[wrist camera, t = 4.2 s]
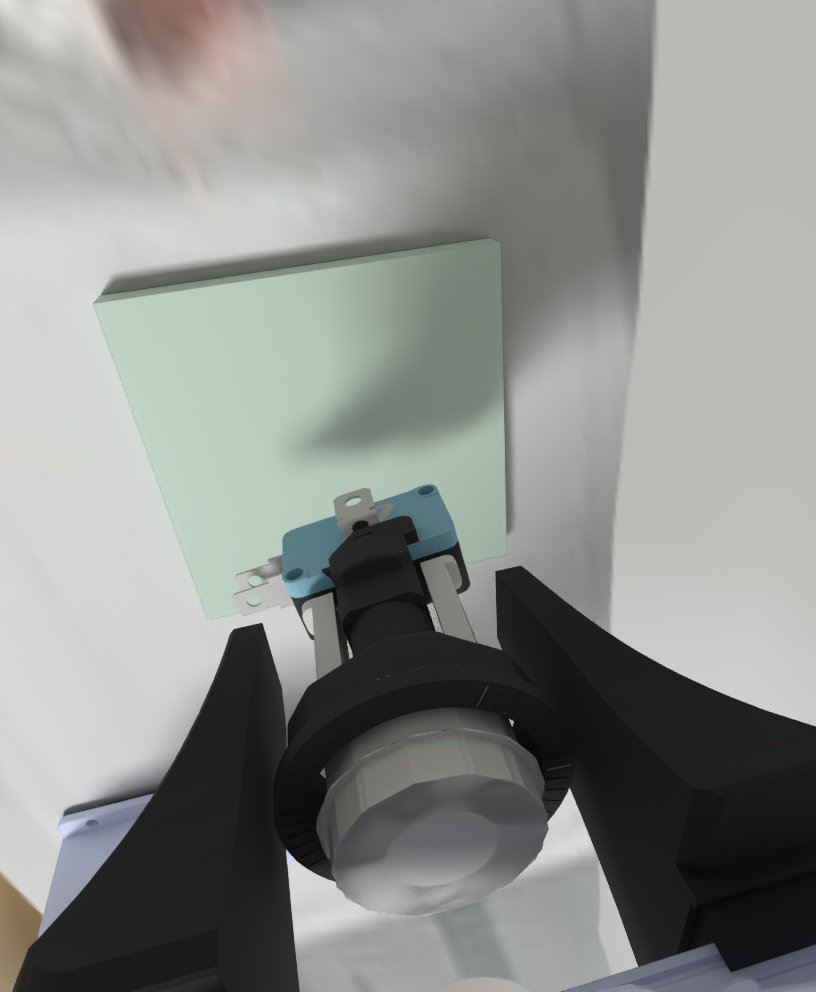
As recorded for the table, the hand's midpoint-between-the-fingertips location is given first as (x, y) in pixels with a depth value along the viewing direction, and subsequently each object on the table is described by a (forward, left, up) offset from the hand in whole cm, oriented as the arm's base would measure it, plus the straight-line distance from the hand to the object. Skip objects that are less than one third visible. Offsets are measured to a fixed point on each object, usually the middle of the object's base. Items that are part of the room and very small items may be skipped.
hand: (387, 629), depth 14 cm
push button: (0, -1, -5) cm, 5 cm away
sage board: (0, 0, -10) cm, 10 cm away
